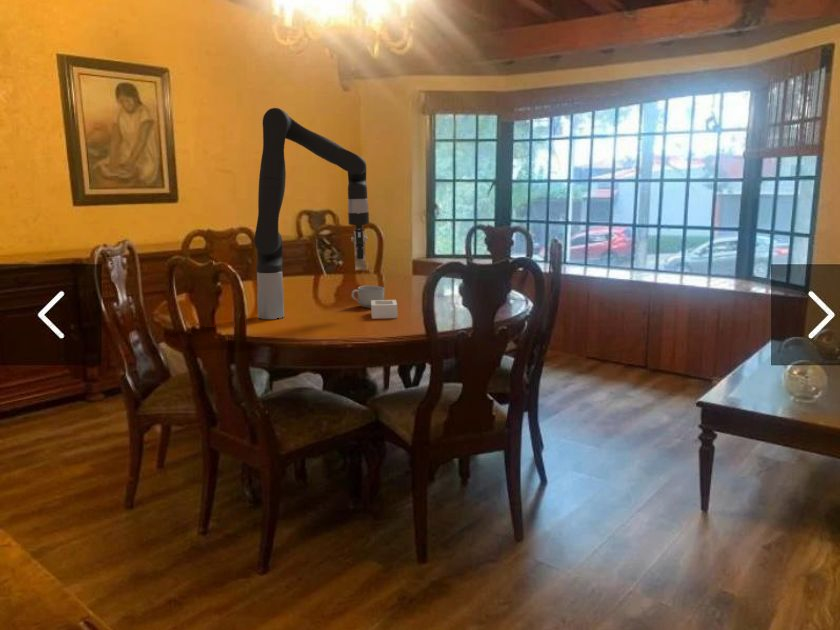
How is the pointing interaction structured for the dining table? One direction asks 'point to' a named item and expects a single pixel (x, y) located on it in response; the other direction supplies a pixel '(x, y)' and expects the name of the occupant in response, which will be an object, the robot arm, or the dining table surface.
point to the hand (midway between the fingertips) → (360, 258)
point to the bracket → (361, 263)
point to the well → (383, 309)
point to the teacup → (368, 295)
